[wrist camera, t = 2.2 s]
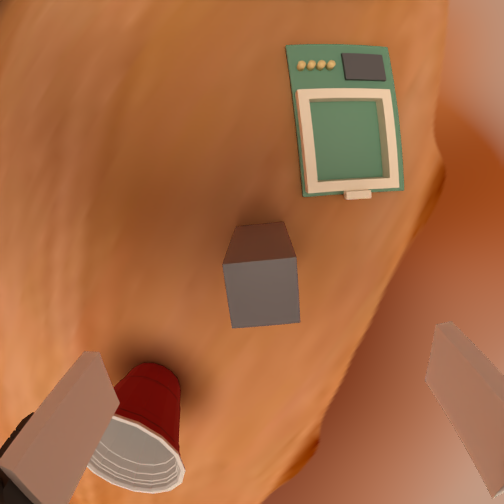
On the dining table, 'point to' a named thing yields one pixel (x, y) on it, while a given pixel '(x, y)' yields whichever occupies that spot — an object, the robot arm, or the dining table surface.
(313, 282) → the dining table surface
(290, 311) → the dark grey rectangular block
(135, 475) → the plastic cup
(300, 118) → the board
